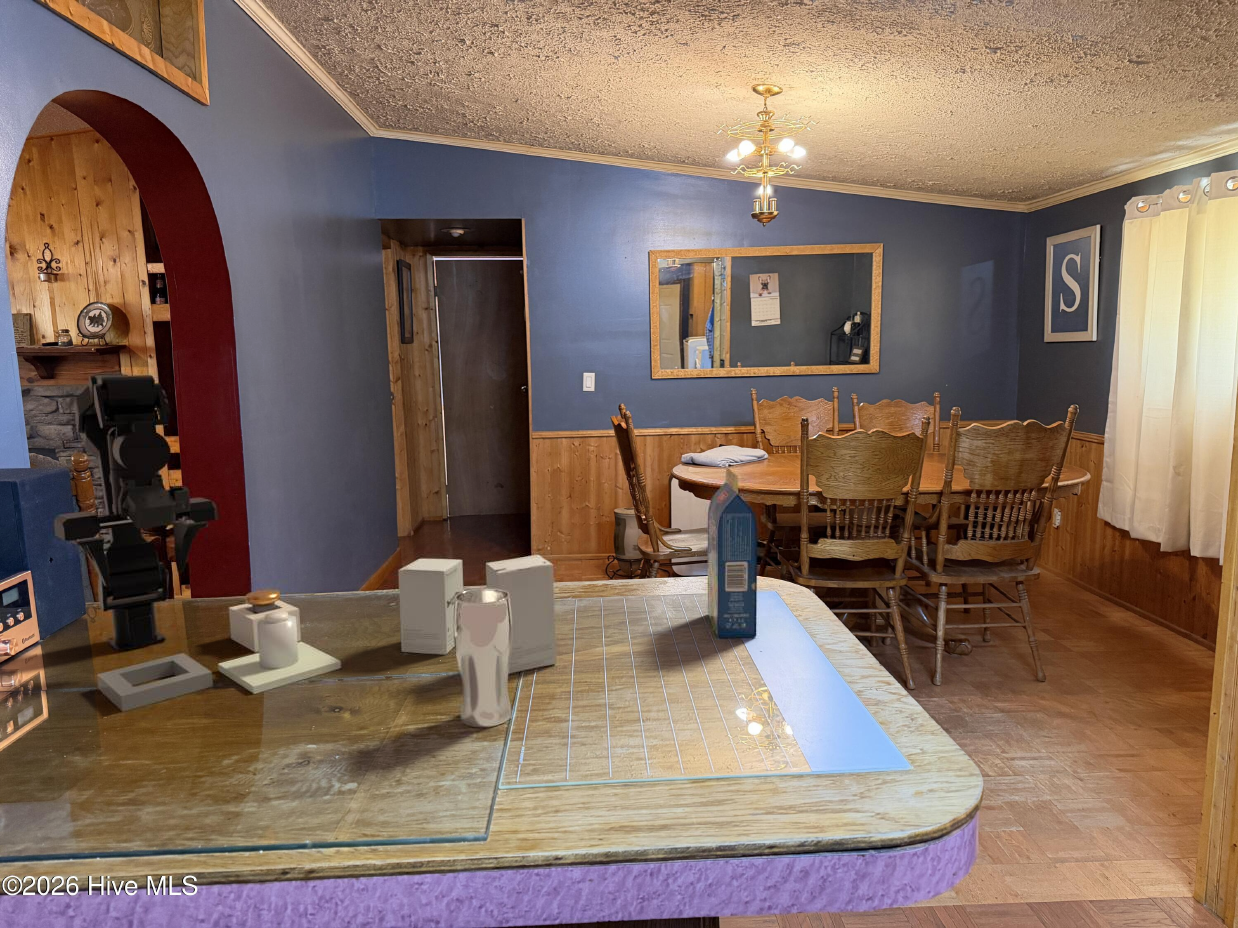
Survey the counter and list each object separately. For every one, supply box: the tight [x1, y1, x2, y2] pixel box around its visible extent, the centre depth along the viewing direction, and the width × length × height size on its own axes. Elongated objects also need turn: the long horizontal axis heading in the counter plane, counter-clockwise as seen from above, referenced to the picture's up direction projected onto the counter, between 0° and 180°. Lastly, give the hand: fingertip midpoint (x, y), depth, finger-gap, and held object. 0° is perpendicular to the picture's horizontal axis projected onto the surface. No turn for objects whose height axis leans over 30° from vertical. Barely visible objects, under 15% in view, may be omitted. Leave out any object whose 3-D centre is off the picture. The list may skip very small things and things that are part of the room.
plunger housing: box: [228, 599, 302, 653], centre depth 126 cm, size 9×7×5 cm
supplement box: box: [397, 558, 464, 655], centre depth 122 cm, size 7×7×13 cm
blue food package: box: [707, 465, 758, 639], centre depth 128 cm, size 6×12×25 cm, turn 1°
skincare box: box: [485, 554, 558, 675], centre depth 113 cm, size 8×6×15 cm
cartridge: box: [257, 612, 298, 669], centre depth 113 cm, size 5×5×7 cm
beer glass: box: [453, 587, 513, 729], centre depth 97 cm, size 7×7×15 cm
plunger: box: [245, 589, 281, 614], centre depth 126 cm, size 5×5×6 cm
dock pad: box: [217, 641, 342, 695], centre depth 114 cm, size 12×12×1 cm
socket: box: [96, 652, 214, 712], centre depth 108 cm, size 11×11×2 cm
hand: (144, 578), depth 113 cm, fingers open, 9 cm apart
